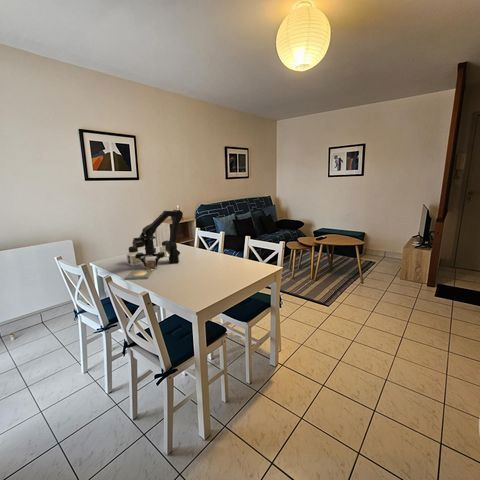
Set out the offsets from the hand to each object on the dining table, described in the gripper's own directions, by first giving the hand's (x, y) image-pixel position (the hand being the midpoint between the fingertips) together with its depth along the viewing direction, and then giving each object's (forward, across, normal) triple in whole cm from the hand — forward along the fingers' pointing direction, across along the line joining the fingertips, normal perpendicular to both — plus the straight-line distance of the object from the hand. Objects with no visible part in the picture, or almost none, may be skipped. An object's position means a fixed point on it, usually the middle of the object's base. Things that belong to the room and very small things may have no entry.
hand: (151, 266), depth 182 cm
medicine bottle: (+1, -4, -32) cm, 32 cm away
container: (+1, +15, -12) cm, 19 cm away
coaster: (+1, +4, +13) cm, 14 cm away
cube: (+1, 0, 0) cm, 1 cm away
